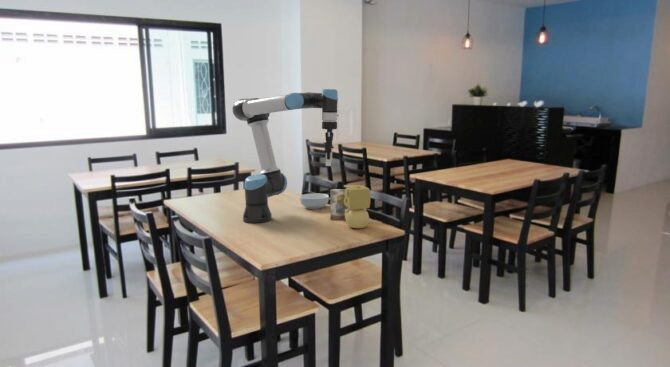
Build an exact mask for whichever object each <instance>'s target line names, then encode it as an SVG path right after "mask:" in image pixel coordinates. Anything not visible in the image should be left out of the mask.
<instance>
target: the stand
mask: <svg viewBox="0 0 670 367" xmlns="http://www.w3.org/2000/svg"><path fill="white" fill-rule="evenodd" d="M345 190H346V188H344V189H341V188H338V189H336V188H335V189H333V188H332V189H330V190H329V191H330V192H329V195H330V196H329V198H330V202H329V203H330V204H329V205H330V215H329V216H330V221H338V220H339V221H346V219H345V210H346V209H349V208H348V207H347V206H345V204H344V198H345V194H344V193H345Z"/></svg>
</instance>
